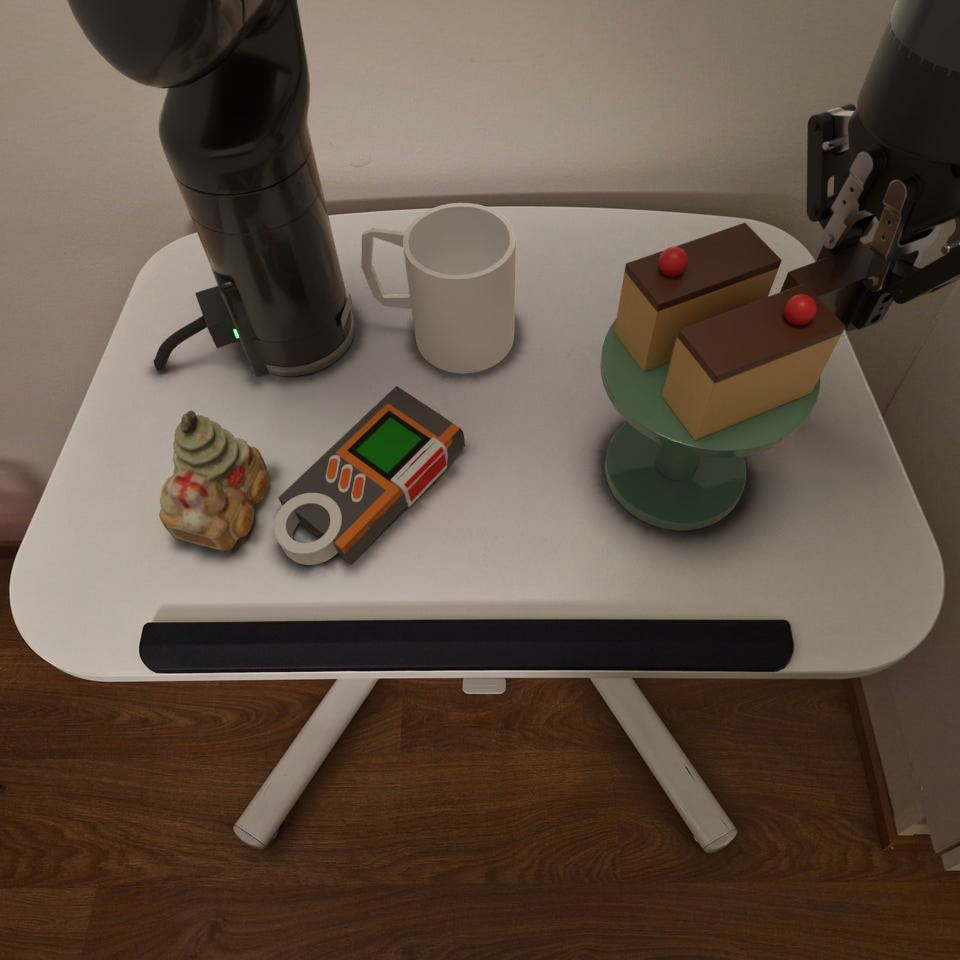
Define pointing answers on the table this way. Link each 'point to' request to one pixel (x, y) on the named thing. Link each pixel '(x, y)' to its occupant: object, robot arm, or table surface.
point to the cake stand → (680, 447)
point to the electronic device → (367, 479)
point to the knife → (831, 278)
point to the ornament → (211, 485)
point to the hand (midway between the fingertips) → (840, 307)
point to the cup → (455, 284)
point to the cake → (724, 329)
